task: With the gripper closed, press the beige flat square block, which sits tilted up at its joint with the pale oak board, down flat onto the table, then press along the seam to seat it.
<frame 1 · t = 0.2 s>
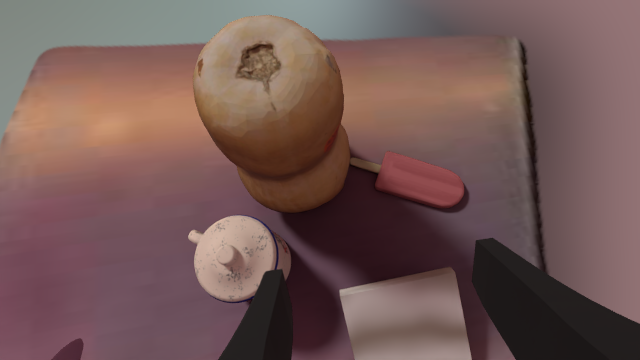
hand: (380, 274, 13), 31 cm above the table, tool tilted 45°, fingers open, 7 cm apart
beige flat square block: (406, 333, 37), point 4 cm above the table, hinge at 25.0°
teacup with lid: (249, 258, 45), on the table
popsicle: (403, 179, 46), on the table
butternut squash: (302, 172, 48), on the table
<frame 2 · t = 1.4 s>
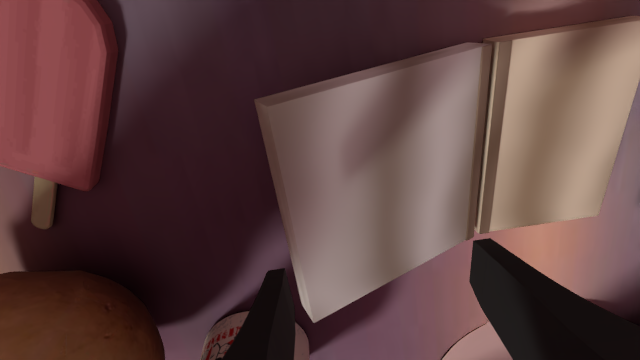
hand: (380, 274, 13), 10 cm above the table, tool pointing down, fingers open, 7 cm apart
laid board: (539, 131, 21), on the table
beige flat square block: (390, 184, 18), point 4 cm above the table, hinge at 25.0°
teacup with lid: (251, 351, 30), on the table
popsicle: (62, 118, 20), on the table
butternut squash: (91, 294, 26), on the table
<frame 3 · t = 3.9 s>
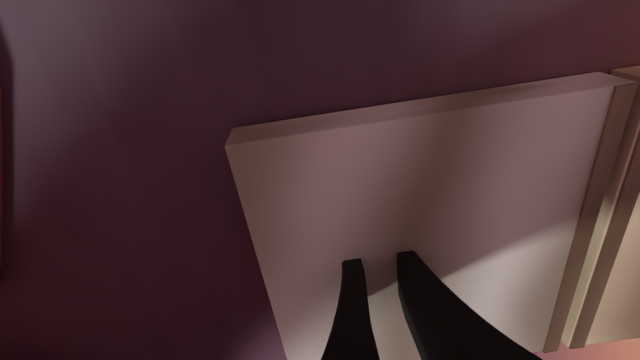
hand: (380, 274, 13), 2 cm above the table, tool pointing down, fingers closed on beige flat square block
beige flat square block: (421, 256, 13), point 1 cm above the table, hinge at 0.6°, touching gripper
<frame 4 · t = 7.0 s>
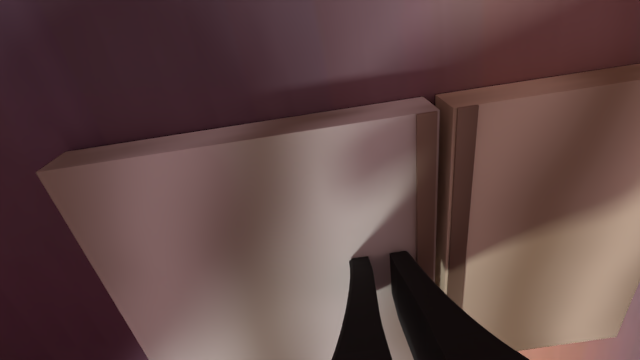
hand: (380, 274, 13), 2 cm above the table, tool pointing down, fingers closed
laid board: (528, 223, 14), on the table
beige flat square block: (277, 275, 14), point 1 cm above the table, hinge at 0.3°
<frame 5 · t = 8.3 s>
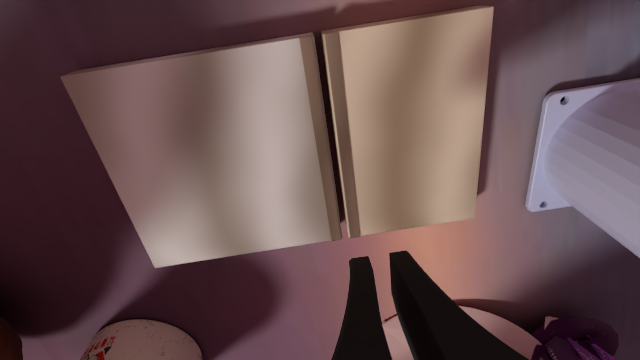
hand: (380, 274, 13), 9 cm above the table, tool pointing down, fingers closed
laid board: (402, 130, 20), on the table
beige flat square block: (224, 164, 20), point 1 cm above the table, hinge at 0.3°
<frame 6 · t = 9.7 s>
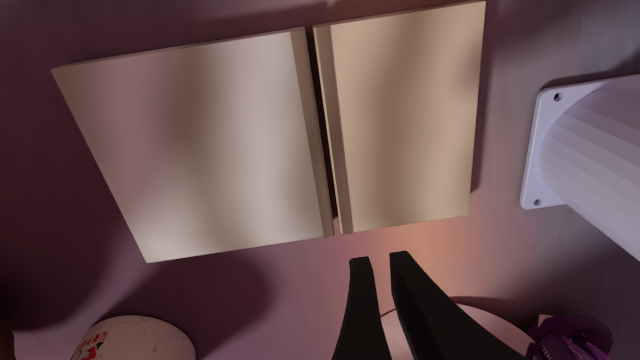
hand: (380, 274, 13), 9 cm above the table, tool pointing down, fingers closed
laid board: (395, 126, 20), on the table
beige flat square block: (216, 158, 20), point 1 cm above the table, hinge at 0.3°
teacup with lid: (138, 357, 29), on the table
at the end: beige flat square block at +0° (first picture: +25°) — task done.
